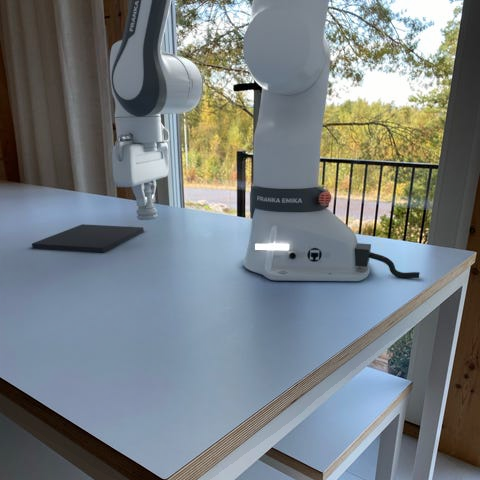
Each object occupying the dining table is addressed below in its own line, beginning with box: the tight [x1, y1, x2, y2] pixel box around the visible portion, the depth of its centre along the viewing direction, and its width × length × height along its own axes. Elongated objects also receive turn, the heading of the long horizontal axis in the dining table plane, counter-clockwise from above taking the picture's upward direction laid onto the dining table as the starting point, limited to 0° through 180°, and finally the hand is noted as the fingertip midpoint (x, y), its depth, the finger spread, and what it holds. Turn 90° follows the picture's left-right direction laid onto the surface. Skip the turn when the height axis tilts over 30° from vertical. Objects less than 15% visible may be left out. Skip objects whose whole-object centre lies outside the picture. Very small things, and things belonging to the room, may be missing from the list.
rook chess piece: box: [136, 182, 159, 221], centre depth 98 cm, size 4×4×8 cm
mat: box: [31, 223, 145, 254], centre depth 105 cm, size 16×20×1 cm
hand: (146, 204), depth 99 cm, fingers closed on rook chess piece, 3 cm apart
